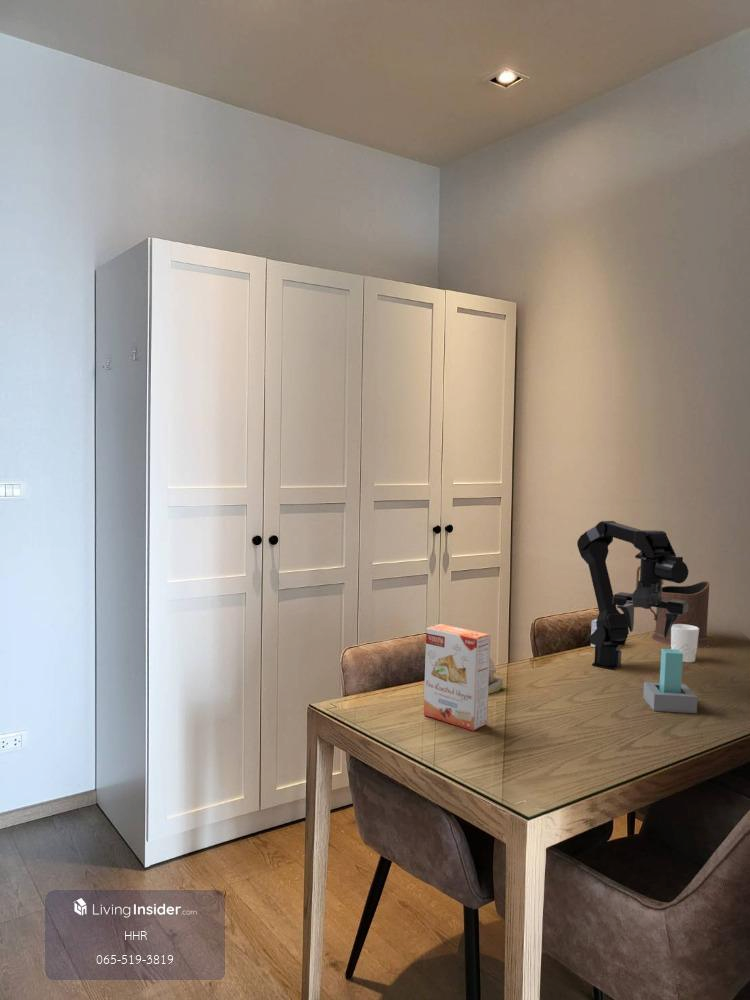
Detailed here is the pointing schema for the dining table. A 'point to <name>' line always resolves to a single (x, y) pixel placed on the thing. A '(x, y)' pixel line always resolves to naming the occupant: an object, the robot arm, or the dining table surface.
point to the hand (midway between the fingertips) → (648, 634)
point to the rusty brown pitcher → (695, 615)
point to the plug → (671, 671)
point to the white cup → (685, 640)
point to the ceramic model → (493, 679)
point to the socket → (670, 699)
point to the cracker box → (457, 676)
